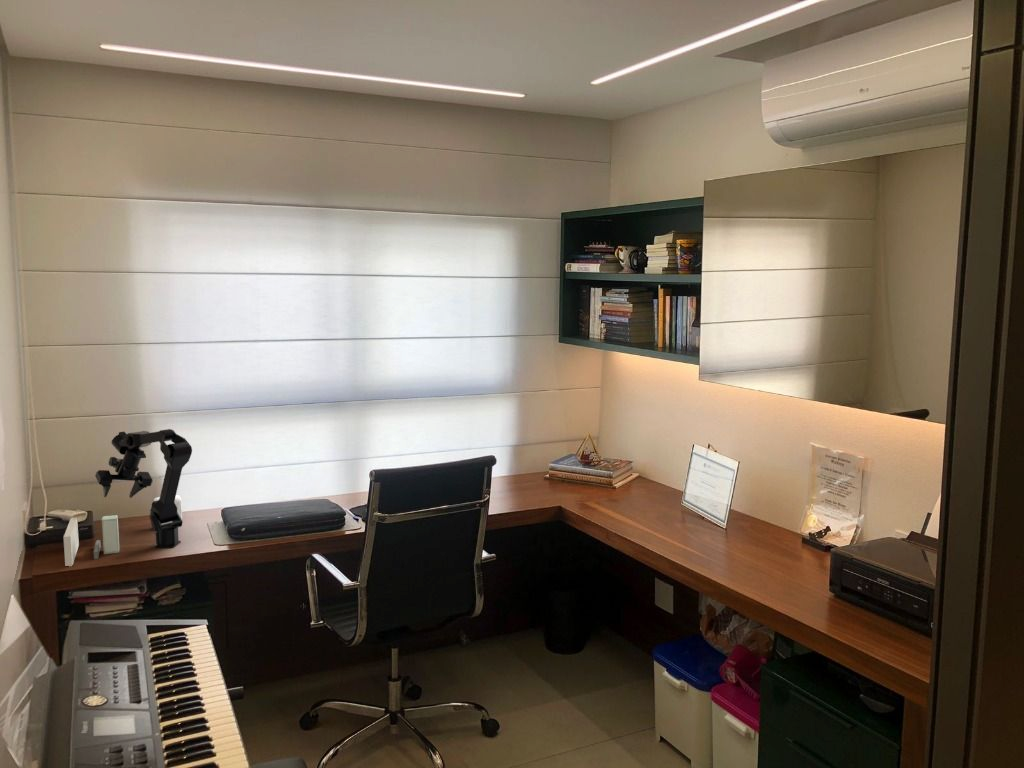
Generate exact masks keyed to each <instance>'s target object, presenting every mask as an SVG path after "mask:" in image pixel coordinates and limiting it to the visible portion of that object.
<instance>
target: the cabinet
mask: <svg viewBox="0 0 1024 768" xmlns="http://www.w3.org/2000/svg"><path fill="white" fill-rule="evenodd" d="M118 516H119V515H117V514H115V515H105V516H102V518H101V527H102V544H103V545H102V546H103V555H108V554H119V553H120V535H119V534H120V533H119V519H118V518H119V517H118Z"/></svg>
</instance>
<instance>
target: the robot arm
mask: <svg viewBox="0 0 1024 768" xmlns="http://www.w3.org/2000/svg"><path fill="white" fill-rule="evenodd" d="M166 442H172V443H169V444H167V443H166ZM152 443H159V444H160V445H159V447H160V449H159V450H160V452H161V453H162V454H163V459H164V460H165V461H164V462H165V463H166V468H165V473H164V478H163V482H162V487H161V491H160V495H159V497H160V499H159V500H157V501H152V503H151V507H150V510H149V511H150V513H149V514H150V515H149V520H150V524H151V529H152V530H153V531H154V532H155V546H154V547H155V548H175V547H176V546H177V545H179V544H181V542H182V541H181V540H180V539H179V527H182V526H183V518H182V519H181V517H180V516H179V514H178V512H177V506H176V505H175V503H174V501H175V497H176V495H177V492H178V488H179V483H180V480H181V476H182V470H183V468H184V467H185V466H186V465H187V464H188V463H189V461H190V459H191V456H192V452H193V448H192V445H191V444H190V443H189V442H188V440H187V439H186V438H185V437H183V436H181V435H179V434H178V433H176V432H175V430H174V429H172V428H168V429H161V430H158V431H154V432H152V431H151V432H150V431H148V430H141V431H135V432H129V433H126V432H125V431H119V432H118V434H116V435H115V436H114V437H113V438H112V440H111V445H112V446H113V447H114V449H116V451H117V452H118V453H119V454H120V455H123V458H117V457H116V456H110V458H109V460H108V465H109V467H112V468H114V472H115V473H117V474H111V472H110V470H108V469H107V470H103V469H102V470H101V469H98V470H97V471H96V473H95V475H94V476H95V478H96V480H97V483H98V485H100V486H101V487H102V489H103V497H104V498H106V497H107V496H108V493H109V492H110V489H111V487H112V485H111V484H112V482H113V481H117V482H118V481H120V482H129V481H131V482H132V481H134V483H133V486H132V488H131V490H130V493H129V498H130V499H131V498H133V497H134V496H135V495H137V494H138V493H139V492H141V491H142V490H144V489H145V488H146V489H147V488H148V487H151V486H152V484H153V477H152V476H151V474H150V473H149V472H148V471H139V470H140V469H139V466H140V465H139V464H140V462H141V460H142V459H146V458H147V456H146V454H145V451H144V450H142V449H141V448H145V447H148V446H150V445H151V444H152ZM171 521H172V522H171ZM167 522H171V523H167ZM163 523H167V524H163ZM161 524H163V525H161Z"/></svg>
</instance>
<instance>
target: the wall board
mask: <svg viewBox="0 0 1024 768" xmlns="http://www.w3.org/2000/svg"><path fill="white" fill-rule="evenodd" d="M78 525H79V524H78V517H70V519H69V522H68V524H67V528H66V529H65V533H63V548H64V549H63V550H64V565H65V566H69V567H73V566H72V565H74V562H75V558H76V556H77V552H78V549H79V546H80V542H79V540H80V539H79V529H78V528H79V527H78ZM101 544H102V543H101V539H98V540H97V539H96V540H95V544H94V548H93V560H98V559H99V555H100V553H101V552H100V550H101Z"/></svg>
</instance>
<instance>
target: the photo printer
mask: <svg viewBox="0 0 1024 768" xmlns="http://www.w3.org/2000/svg"><path fill="white" fill-rule="evenodd" d="M159 499H160V496H157V497H155V498H153V501H157V500H159ZM153 501H152V502H153ZM174 503H175V505H176V506H177V512H178V514H179V516H180V517H181V519H182V520H183V509H182V507H183V506H182V498H181V496H180V495H177V494H176V497H175V501H174ZM171 522H172V521H171ZM171 522H167V523H171ZM167 523H163V524H167ZM163 524H161V525H163Z"/></svg>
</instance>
